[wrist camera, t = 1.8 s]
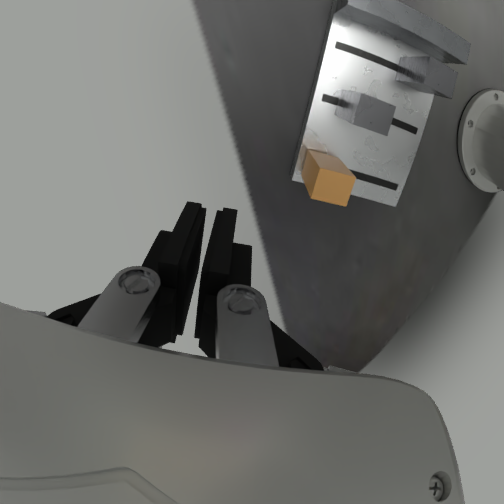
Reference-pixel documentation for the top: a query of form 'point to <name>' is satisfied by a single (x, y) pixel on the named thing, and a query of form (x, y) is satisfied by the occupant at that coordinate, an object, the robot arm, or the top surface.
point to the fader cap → (327, 178)
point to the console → (377, 91)
